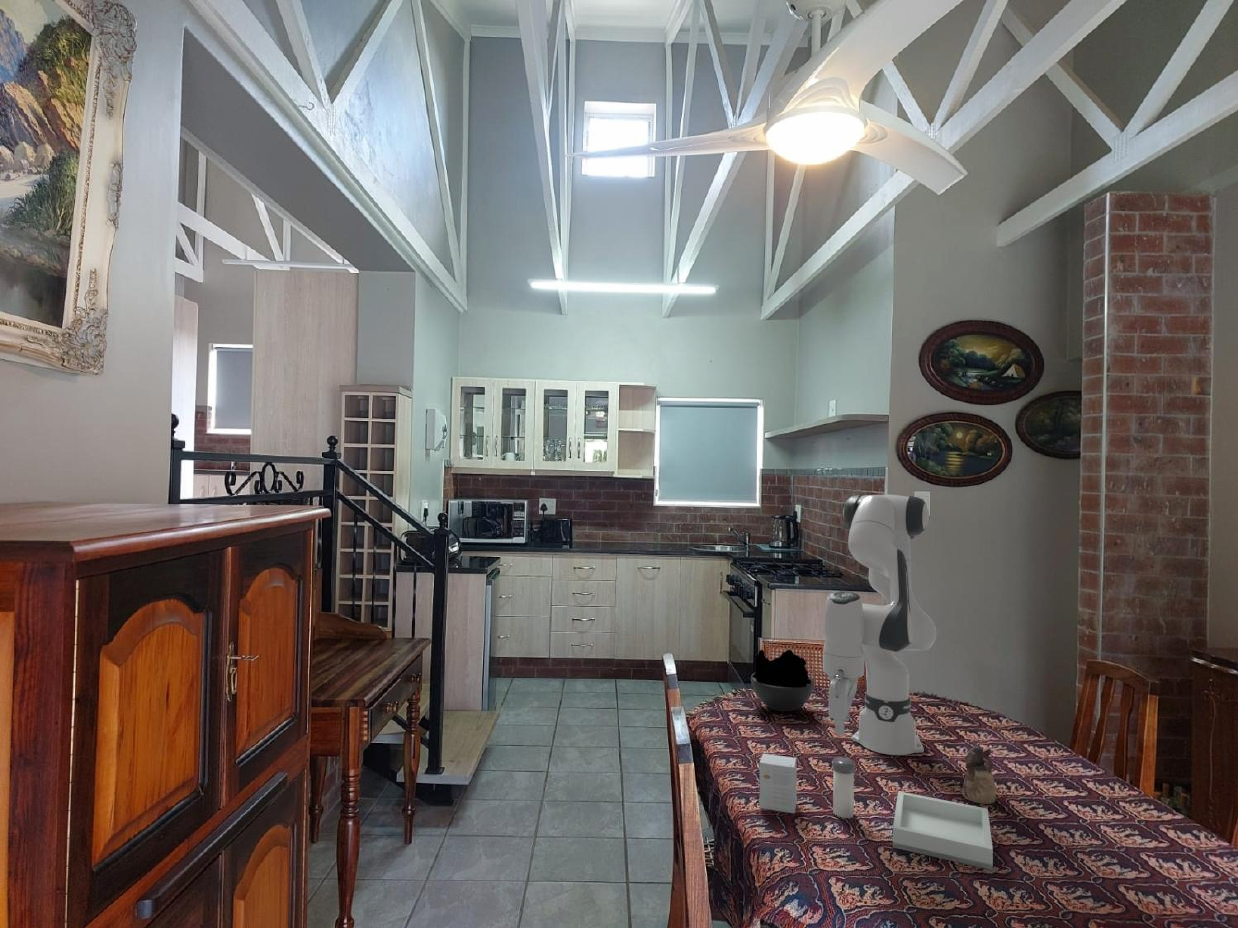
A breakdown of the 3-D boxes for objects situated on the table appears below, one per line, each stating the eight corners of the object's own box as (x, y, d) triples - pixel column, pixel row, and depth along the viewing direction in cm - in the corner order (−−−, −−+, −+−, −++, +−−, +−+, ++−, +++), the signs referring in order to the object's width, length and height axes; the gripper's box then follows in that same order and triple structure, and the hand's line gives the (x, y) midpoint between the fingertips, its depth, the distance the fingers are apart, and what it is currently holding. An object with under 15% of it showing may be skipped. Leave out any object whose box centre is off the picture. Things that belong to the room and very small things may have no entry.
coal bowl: (824, 709, 222) (825, 651, 222) (796, 725, 207) (796, 663, 207) (769, 695, 235) (770, 640, 236) (738, 710, 220) (739, 651, 221)
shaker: (833, 806, 157) (834, 755, 157) (855, 811, 155) (856, 759, 155) (830, 815, 152) (831, 763, 153) (853, 820, 150) (853, 767, 151)
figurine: (968, 787, 167) (968, 738, 167) (1000, 797, 162) (1000, 746, 162) (957, 796, 162) (958, 746, 162) (990, 807, 157) (990, 755, 157)
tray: (898, 808, 156) (898, 791, 156) (987, 826, 148) (987, 808, 148) (892, 847, 140) (892, 827, 140) (992, 869, 132) (992, 849, 132)
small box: (797, 803, 158) (797, 757, 158) (795, 814, 153) (795, 767, 153) (762, 797, 161) (762, 752, 161) (758, 808, 156) (759, 761, 156)
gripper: (852, 679, 143) (851, 745, 143) (862, 656, 162) (862, 715, 162) (821, 675, 146) (820, 739, 146) (834, 653, 165) (834, 710, 164)
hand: (842, 726), depth 154 cm, fingers open, 8 cm apart
